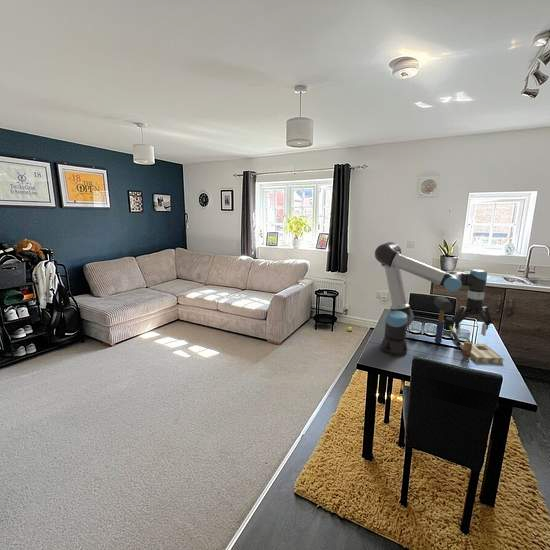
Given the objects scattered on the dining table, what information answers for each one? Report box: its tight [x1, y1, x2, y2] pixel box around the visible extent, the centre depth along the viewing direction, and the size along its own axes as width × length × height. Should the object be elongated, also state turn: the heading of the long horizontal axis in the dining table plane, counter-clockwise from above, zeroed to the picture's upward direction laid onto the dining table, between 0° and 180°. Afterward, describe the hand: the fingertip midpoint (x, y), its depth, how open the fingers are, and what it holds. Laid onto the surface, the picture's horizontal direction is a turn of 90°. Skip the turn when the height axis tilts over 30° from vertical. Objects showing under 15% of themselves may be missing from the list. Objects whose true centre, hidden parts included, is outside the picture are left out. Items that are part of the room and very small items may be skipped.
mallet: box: [443, 316, 462, 347], centre depth 199 cm, size 29×6×10 cm, turn 164°
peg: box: [461, 341, 473, 361], centre depth 170 cm, size 4×4×10 cm
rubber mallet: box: [433, 295, 453, 344], centre depth 187 cm, size 12×8×30 cm, turn 171°
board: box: [459, 342, 504, 364], centre depth 175 cm, size 14×18×3 cm
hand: (470, 334), depth 167 cm, fingers open, 13 cm apart
